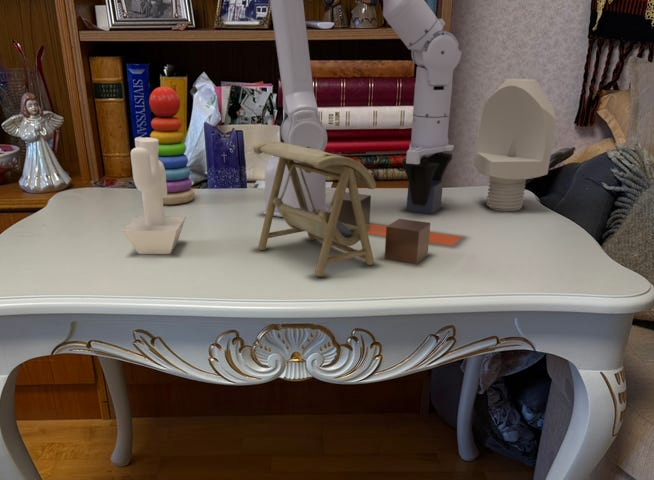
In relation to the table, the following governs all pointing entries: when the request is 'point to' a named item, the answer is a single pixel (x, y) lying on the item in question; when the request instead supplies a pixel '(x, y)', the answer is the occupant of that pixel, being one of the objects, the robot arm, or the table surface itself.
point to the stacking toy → (171, 145)
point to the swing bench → (315, 221)
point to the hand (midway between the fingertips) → (424, 201)
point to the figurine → (151, 202)
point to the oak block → (348, 212)
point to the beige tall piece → (514, 140)
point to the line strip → (433, 237)
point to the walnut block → (407, 241)
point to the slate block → (432, 201)
